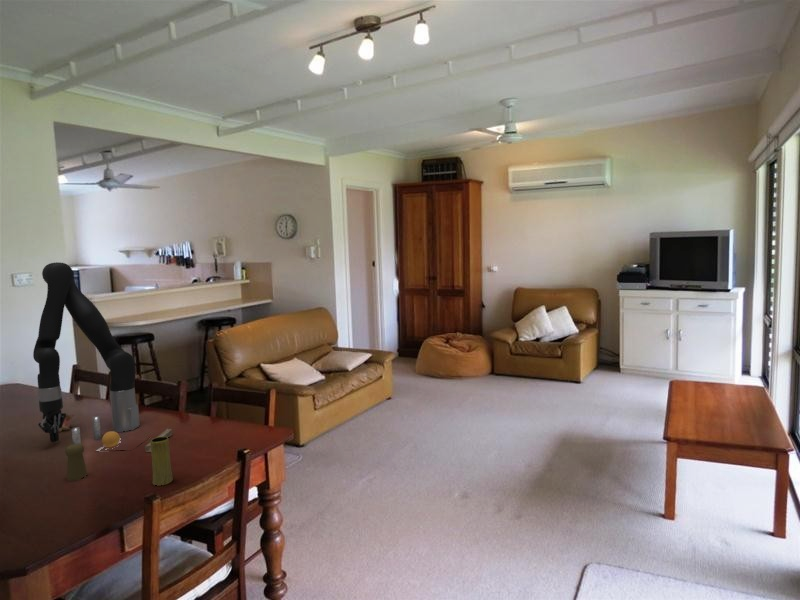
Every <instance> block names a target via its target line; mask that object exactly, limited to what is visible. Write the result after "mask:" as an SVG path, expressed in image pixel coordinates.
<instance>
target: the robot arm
mask: <svg viewBox="0 0 800 600" xmlns="http://www.w3.org/2000/svg"><path fill="white" fill-rule="evenodd" d="M41 275H42V279H43V281H44V282H45V283H46V284H47V293H46V299H45V304H44V306H43V310H42V313H41V316H40V321H39V328H38V333H37V334H38V335H37V338H36V341H35V345H34V349H33V354H32V355H33V356H32V357H33V360H34V361H35V362H36V363H37V364H38V369H39V371H38V372H39V373H38V374H37V376H36V377H37V387H38V390H37V394H38V395H37V397H38V406H39V412H41V413H42V421H41V422H38V427H39V428H40V429H41V430H42V431H43V432H44V433H45V434H49V441H50V442H51V443H56V442H58V441H60V440H59V438H60V437H59V432H58V431H59V428H62V425H63V422H64V419H65V416H66V414H67V413H65V412H62V409H63V408H64V405H63V404H64V403H63V393H62V388H61V380H60V375H59V374H60V368H61V367H60V364H61V360H60V359H61V358H60V353H59V351H58V350H57V349H56V345H57V341H58V340H59V339H60V336H61V331H62V326H63V325H62V324H63V317H64V311H65V309H66V310H67V311H68V313H69V314H70V316H71V318H72V319H73V320H74V323H75V324H76V325H77V326H78V328H79V329H80V330H81V332H82V333H83V334H84V335H85V337H86V338H87V339H88V340H89V341H90V343H92V344H93V345H94V346H95V348H96V349H97V351H98V353H99V354H100V356H101V358H102V359H103V362H104V363H105V366H106V367H107V368H108V370H109V371H110V372H109V374H110V382H109V384H108V385H109V399H110V411H111V420H112V421H111V422H112V431H114V432H117V433H123V431H125V432H128V431H129V430H131V431H134V430H135V429H137V428H138V427H140V426H139V425H140V412H139V411H140V410H139V404H138V403H137V401H136V389H135V386H136V385H135V382H136V366H135V358H134V356H133V355H132V354H131V353H130V352H127V351H125V350H124V349H123V348H122V347H121V346H120V345H119V344H118V342H117V341H116V339H115V338H114V337H113V335H112V333H111V330H110V328H109V325H108V323H107V320H106V319H105V318H104V316H103V315H102V313H101V311H100V310H99V309H98V308H97V306H96V305H95V304H94V303H93V302H92V301H91V300H90V299H89V298H88V297H87V296H86V295H85V294H84V293H83V292H82V291H81V290H80V289H79V288H78V286H77V284H76V283H75V281H74V279H73V277H74V272H73V268H72V267H71V266H70V265H68V264H67V263H65V262H61V261H60V262H50V263H47V264H46V265H45V266H44V268H42V272H41Z"/></svg>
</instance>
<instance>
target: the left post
mask: <svg viewBox="0 0 800 600" xmlns="http://www.w3.org/2000/svg"><path fill="white" fill-rule="evenodd" d="M70 430H71V439H72V445H73V444H82V440H81V428H80V426H75V427H71V428H70Z"/></svg>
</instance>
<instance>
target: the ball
mask: <svg viewBox="0 0 800 600" xmlns="http://www.w3.org/2000/svg"><path fill="white" fill-rule="evenodd" d="M119 440H120V435H119V432H115V431H113V430H111V431H109V430H108V431H107V432H105V433H104V435H103V436H102V438H101V443H102V444H103V446H106V447H114V446H116V445H117V444H118V443H119Z"/></svg>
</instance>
